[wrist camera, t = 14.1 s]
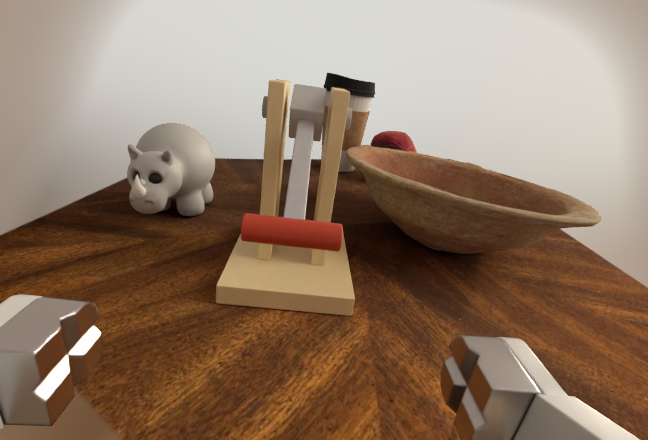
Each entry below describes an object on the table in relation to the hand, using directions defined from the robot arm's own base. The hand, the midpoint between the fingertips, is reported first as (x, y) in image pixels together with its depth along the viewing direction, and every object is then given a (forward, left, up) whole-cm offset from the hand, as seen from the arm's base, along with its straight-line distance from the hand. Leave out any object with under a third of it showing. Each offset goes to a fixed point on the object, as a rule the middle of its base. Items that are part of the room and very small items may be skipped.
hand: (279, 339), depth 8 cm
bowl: (+16, +27, -9) cm, 33 cm away
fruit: (+14, +48, -9) cm, 51 cm away
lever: (0, +15, 0) cm, 15 cm away
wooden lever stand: (0, +18, -9) cm, 20 cm away
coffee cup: (+6, +53, -9) cm, 54 cm away
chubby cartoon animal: (-12, +25, -9) cm, 29 cm away
